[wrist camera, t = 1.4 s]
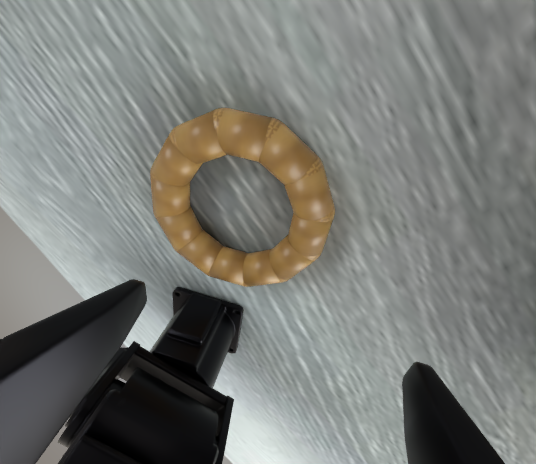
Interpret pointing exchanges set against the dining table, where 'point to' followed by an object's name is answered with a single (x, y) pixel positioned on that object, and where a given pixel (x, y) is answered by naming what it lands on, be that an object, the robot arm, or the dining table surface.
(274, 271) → the ring
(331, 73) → the dining table surface
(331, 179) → the dining table surface
